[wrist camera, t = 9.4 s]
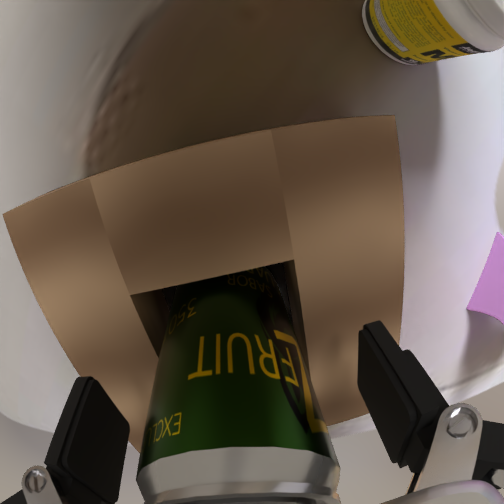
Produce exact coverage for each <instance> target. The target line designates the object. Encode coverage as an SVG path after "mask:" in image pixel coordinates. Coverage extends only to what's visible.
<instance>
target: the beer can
mask: <svg viewBox="0 0 504 504" xmlns="http://www.w3.org/2000/svg"><path fill="white" fill-rule="evenodd" d="M339 476H340V466H339V463H338V460H337V457H336V454H335V451H334V448H333V445H332V442H331V439H330V436H329V433H328V430H327V427H326V424H325V421H324V418H323V415H322V412H321V409H320V406H319V403H318V400H317V397H316V394H315V391H314V388H313V385H312V382H311V379H310V376H309V373H308V370H307V367H306V364H305V361H304V358H303V355H302V352H301V350H300V347H299V344H298V341H297V338H296V335H295V332H294V329H293V326H292V323H291V321H290V318H289V315H288V312H287V309H286V306H285V303H284V300H283V298H282V295H281V292H280V289H279V286H278V284H277V282H276V280H275V279H274V277H273V275H272V273H271V272H270V271H269V270H268V269H267V268H266V267H265V266H263V267H258V268H254V269H249V270H245V271H240V272H236V273H231V274H227V275H222V276H217V277H213V278H208V279H204V280H199V281H194V282H190V283H185V284H180V285H178V286H177V288H176V291H175V295H174V299H173V303H172V307H171V310H170V314H169V318H168V322H167V327H166V331H165V335H164V339H163V343H162V347H161V352H160V356H159V361H158V365H157V370H156V374H155V379H154V383H153V388H152V393H151V398H150V403H149V408H148V413H147V418H146V423H145V429H144V434H143V440H142V446H141V452H140V458H139V464H138V471H137V477H136V481H137V484H138V486H139V489H140V491H141V494H142V496H143V498H144V500H145V502H144V504H341V501H340V498H339V495H338V494H337V493H336V490H337V486H338V482H339Z"/></svg>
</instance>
